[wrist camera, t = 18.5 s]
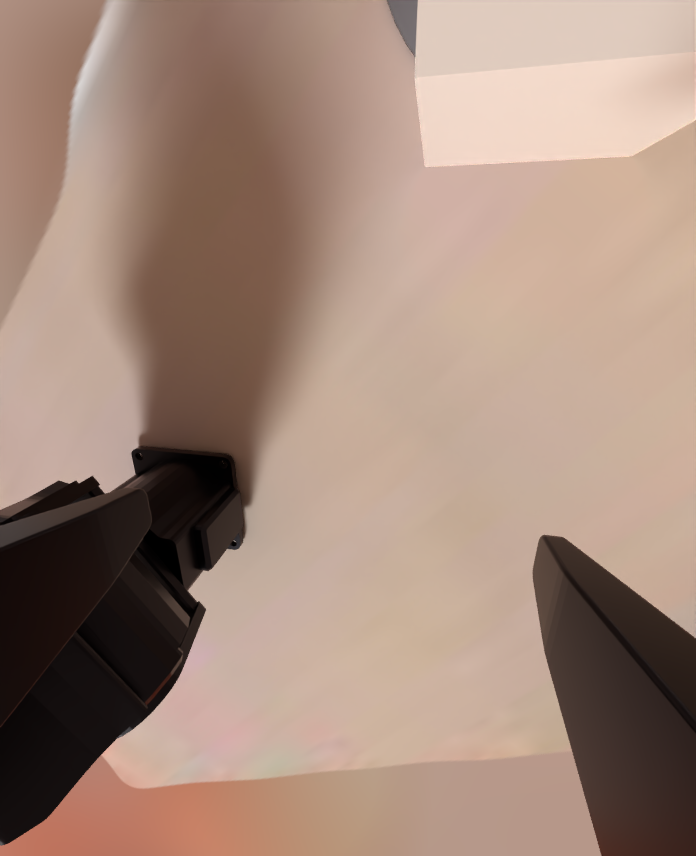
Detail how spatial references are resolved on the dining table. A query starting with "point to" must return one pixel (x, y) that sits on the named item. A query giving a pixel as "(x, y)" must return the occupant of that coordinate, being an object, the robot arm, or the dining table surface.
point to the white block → (551, 78)
